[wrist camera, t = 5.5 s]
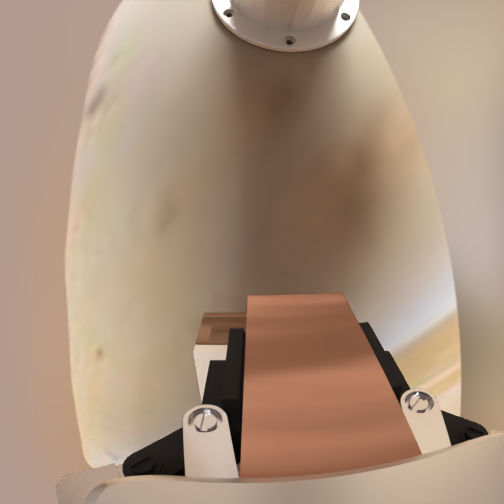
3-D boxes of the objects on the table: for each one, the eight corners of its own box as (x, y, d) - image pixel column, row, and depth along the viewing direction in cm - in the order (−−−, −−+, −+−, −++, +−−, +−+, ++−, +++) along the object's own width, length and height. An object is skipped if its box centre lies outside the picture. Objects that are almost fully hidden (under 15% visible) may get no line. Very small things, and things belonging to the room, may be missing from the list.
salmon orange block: (247, 295, 13) (237, 539, 4) (342, 292, 13) (444, 505, 4) (250, 369, 15) (246, 574, 5) (332, 365, 14) (386, 556, 5)
